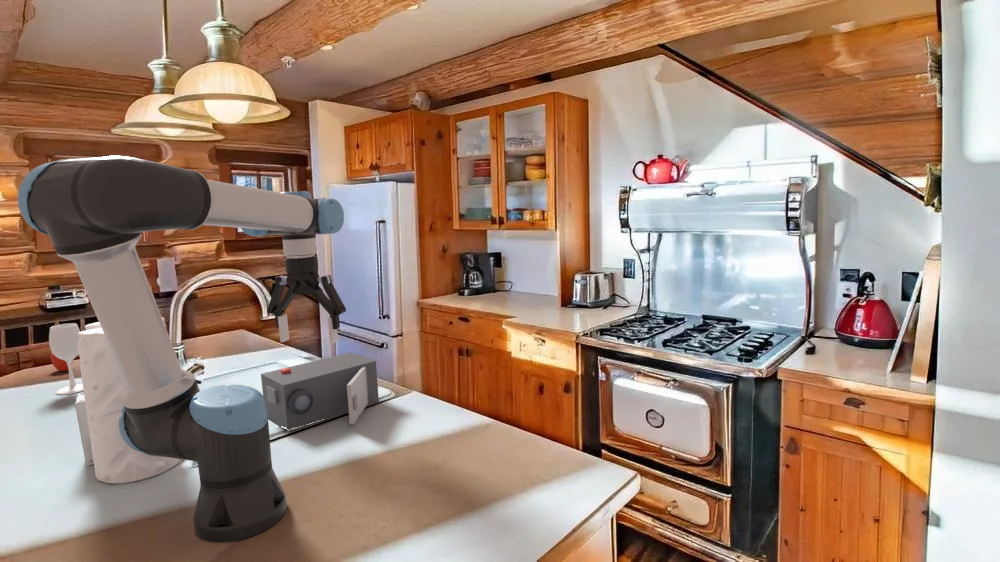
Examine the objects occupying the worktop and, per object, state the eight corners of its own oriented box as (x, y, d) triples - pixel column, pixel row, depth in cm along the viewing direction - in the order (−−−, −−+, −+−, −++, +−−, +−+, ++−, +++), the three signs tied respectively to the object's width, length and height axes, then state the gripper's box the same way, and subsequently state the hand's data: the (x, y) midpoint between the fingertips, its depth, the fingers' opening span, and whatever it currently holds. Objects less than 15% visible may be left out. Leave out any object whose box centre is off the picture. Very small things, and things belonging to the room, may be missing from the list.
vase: (82, 493, 111) (59, 337, 106) (103, 458, 125) (84, 320, 120) (180, 474, 117) (162, 327, 112) (189, 443, 132) (173, 312, 127)
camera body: (383, 404, 154) (379, 359, 152) (289, 435, 135) (284, 384, 133) (353, 391, 165) (349, 349, 163) (263, 418, 147) (258, 371, 145)
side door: (371, 401, 152) (368, 366, 150) (356, 423, 137) (353, 384, 135) (365, 401, 152) (362, 366, 150) (349, 424, 137) (346, 385, 135)
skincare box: (117, 459, 125) (107, 396, 123) (84, 467, 122) (74, 402, 120) (117, 446, 132) (108, 386, 130) (86, 453, 129) (76, 392, 127)
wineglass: (76, 394, 172) (66, 328, 169) (49, 395, 172) (38, 329, 169) (97, 385, 180) (87, 322, 177) (70, 386, 181) (60, 322, 178)
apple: (48, 373, 196) (44, 352, 195) (64, 367, 203) (61, 347, 201) (63, 373, 195) (60, 352, 194) (79, 368, 201) (76, 348, 200)
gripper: (355, 253, 135) (362, 338, 138) (265, 255, 140) (274, 336, 144) (339, 257, 128) (347, 346, 131) (245, 258, 133) (255, 344, 137)
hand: (309, 341), depth 137 cm, fingers open, 13 cm apart
